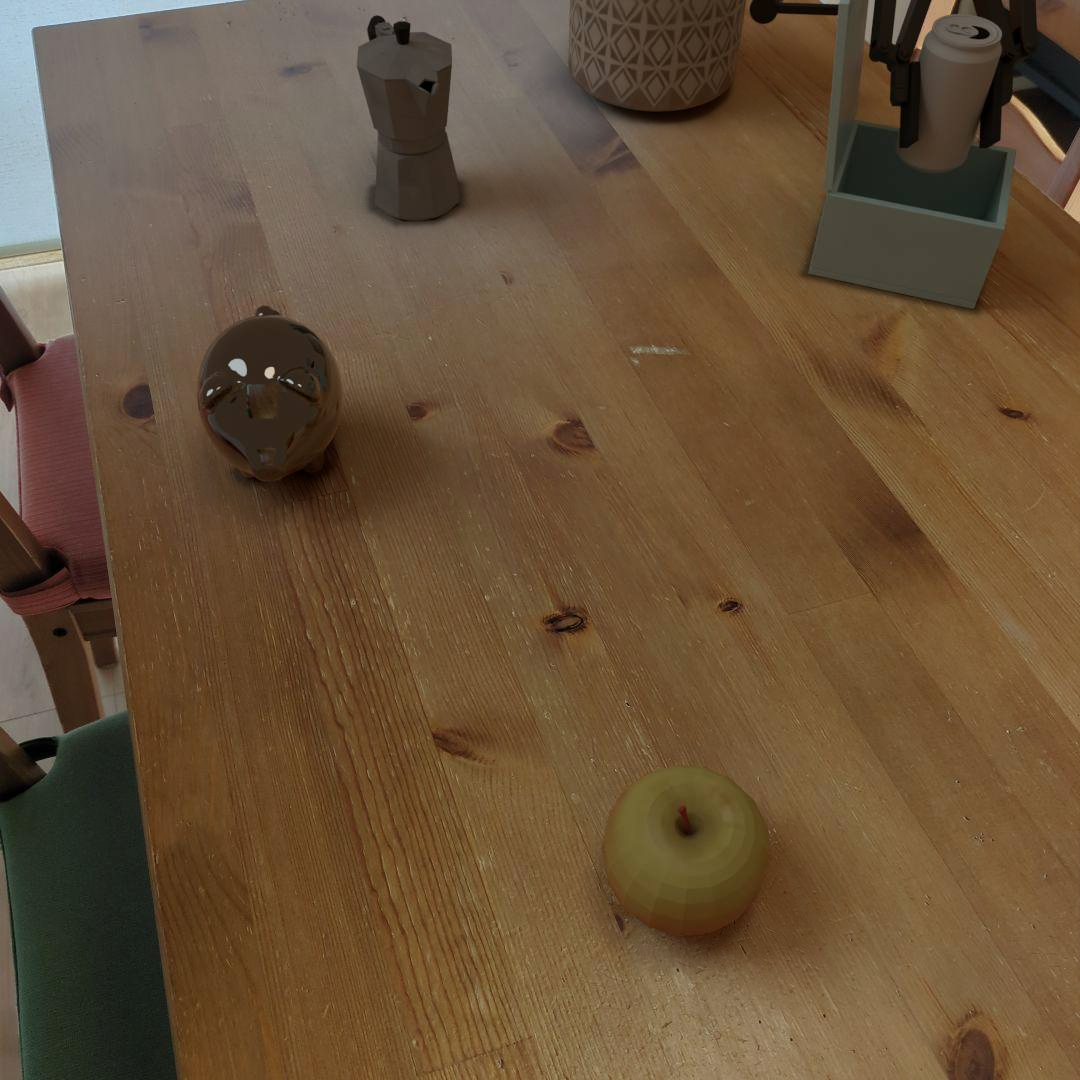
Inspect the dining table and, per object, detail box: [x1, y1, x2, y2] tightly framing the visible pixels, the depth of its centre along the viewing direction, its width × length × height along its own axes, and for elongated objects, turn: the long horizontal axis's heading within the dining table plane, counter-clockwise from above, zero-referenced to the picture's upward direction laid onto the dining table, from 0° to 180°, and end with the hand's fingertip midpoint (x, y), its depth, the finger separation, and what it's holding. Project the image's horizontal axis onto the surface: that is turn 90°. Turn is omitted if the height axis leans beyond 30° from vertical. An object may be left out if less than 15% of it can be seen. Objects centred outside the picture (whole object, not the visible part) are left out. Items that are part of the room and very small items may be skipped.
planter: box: [567, 0, 748, 112], centre depth 123 cm, size 19×19×16 cm
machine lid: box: [749, 0, 870, 191], centre depth 99 cm, size 16×14×9 cm
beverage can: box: [895, 13, 1002, 173], centre depth 97 cm, size 6×6×12 cm
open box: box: [807, 119, 1017, 310], centre depth 106 cm, size 16×14×9 cm
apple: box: [601, 764, 771, 937], centre depth 66 cm, size 10×10×8 cm
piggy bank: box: [195, 305, 344, 483], centre depth 87 cm, size 11×15×12 cm
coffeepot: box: [356, 14, 460, 222], centre depth 108 cm, size 15×9×18 cm, turn 26°
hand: (949, 143), depth 97 cm, fingers closed on beverage can, 6 cm apart
